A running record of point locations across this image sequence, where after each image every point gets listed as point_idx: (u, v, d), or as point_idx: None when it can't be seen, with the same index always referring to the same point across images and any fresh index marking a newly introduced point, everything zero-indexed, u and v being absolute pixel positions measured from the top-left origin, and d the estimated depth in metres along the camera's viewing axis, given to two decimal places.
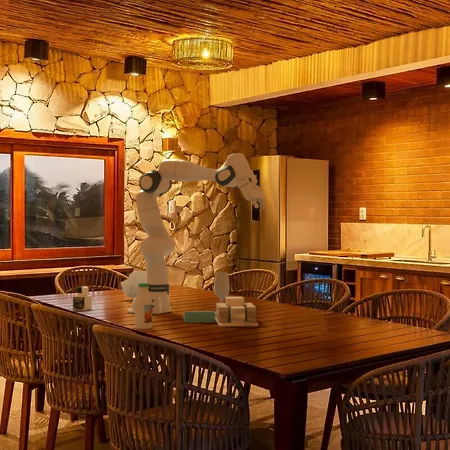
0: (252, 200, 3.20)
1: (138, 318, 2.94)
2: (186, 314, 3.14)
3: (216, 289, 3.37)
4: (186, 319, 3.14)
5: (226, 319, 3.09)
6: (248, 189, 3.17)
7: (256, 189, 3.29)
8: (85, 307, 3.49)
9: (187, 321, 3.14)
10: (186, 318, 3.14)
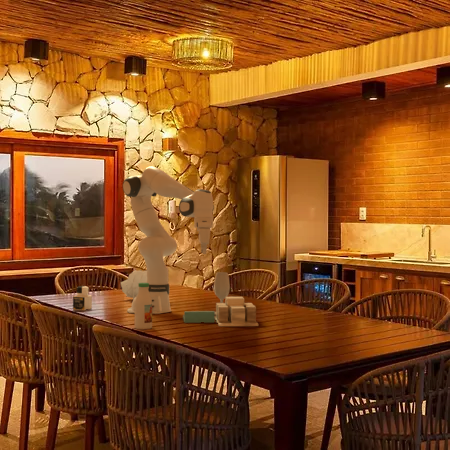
0: (204, 245, 3.08)
1: (138, 318, 2.94)
2: (186, 314, 3.14)
3: (216, 289, 3.37)
4: (186, 319, 3.14)
5: (226, 319, 3.09)
6: (208, 234, 3.05)
7: None
8: (85, 307, 3.49)
9: (187, 321, 3.14)
10: (186, 318, 3.14)
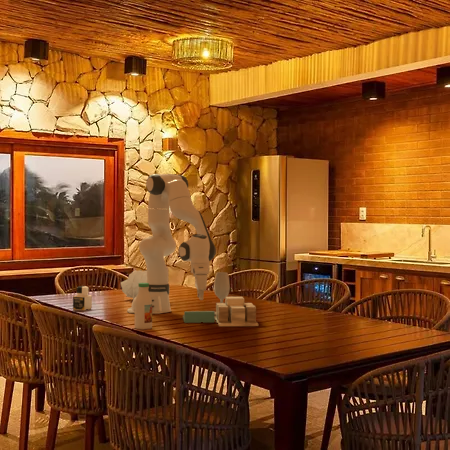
0: (201, 291, 3.08)
1: (138, 318, 2.94)
2: (186, 314, 3.14)
3: (216, 289, 3.37)
4: (186, 319, 3.14)
5: (226, 319, 3.09)
6: (205, 281, 3.05)
7: None
8: (85, 307, 3.49)
9: (187, 321, 3.14)
10: (186, 318, 3.14)
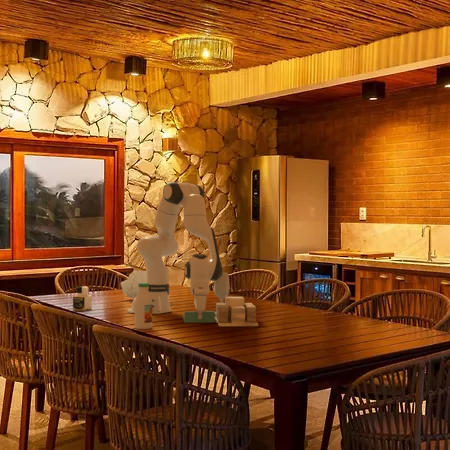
0: None
1: (138, 318, 2.94)
2: (186, 314, 3.14)
3: (216, 289, 3.37)
4: (186, 319, 3.14)
5: (226, 319, 3.09)
6: (204, 302, 3.06)
7: None
8: (85, 307, 3.49)
9: (187, 321, 3.14)
10: (186, 318, 3.14)
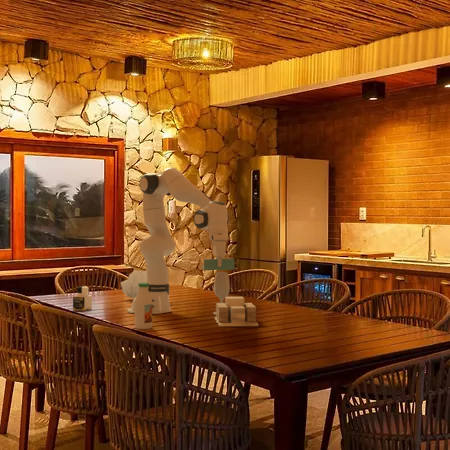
0: (219, 258, 3.07)
1: (138, 318, 2.94)
2: (205, 262, 3.09)
3: (216, 289, 3.37)
4: (206, 267, 3.09)
5: (226, 319, 3.09)
6: (224, 247, 3.01)
7: None
8: (85, 307, 3.49)
9: (207, 269, 3.09)
10: (206, 266, 3.09)
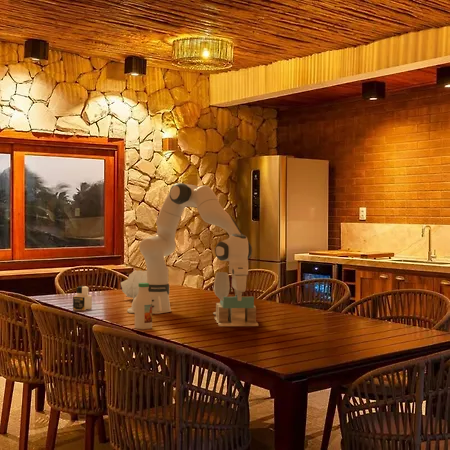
0: (239, 292, 3.02)
1: (138, 318, 2.94)
2: (225, 299, 3.06)
3: (216, 289, 3.37)
4: (225, 304, 3.06)
5: (226, 319, 3.09)
6: (244, 282, 2.98)
7: None
8: (85, 307, 3.49)
9: (226, 307, 3.06)
10: (225, 303, 3.06)
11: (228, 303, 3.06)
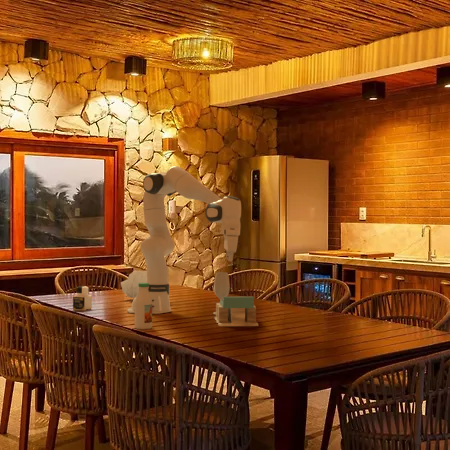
0: (231, 253, 3.08)
1: (138, 318, 2.94)
2: (225, 299, 3.06)
3: (216, 289, 3.37)
4: (225, 304, 3.06)
5: (226, 319, 3.09)
6: (236, 243, 3.05)
7: None
8: (85, 307, 3.49)
9: (226, 307, 3.06)
10: (225, 303, 3.06)
11: (228, 303, 3.06)
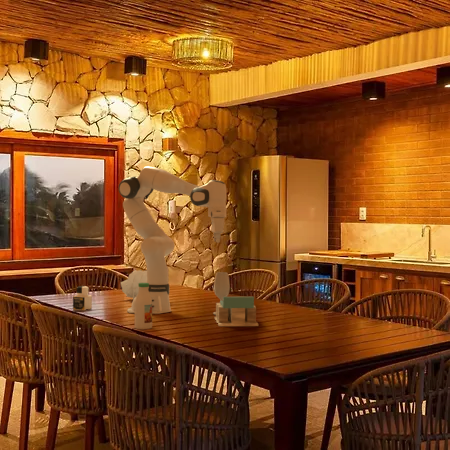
0: (218, 234, 3.20)
1: (138, 318, 2.94)
2: (225, 299, 3.06)
3: (216, 289, 3.37)
4: (225, 304, 3.06)
5: (226, 319, 3.09)
6: (222, 224, 3.17)
7: None
8: (85, 307, 3.49)
9: (226, 307, 3.06)
10: (225, 303, 3.06)
11: (228, 303, 3.06)
